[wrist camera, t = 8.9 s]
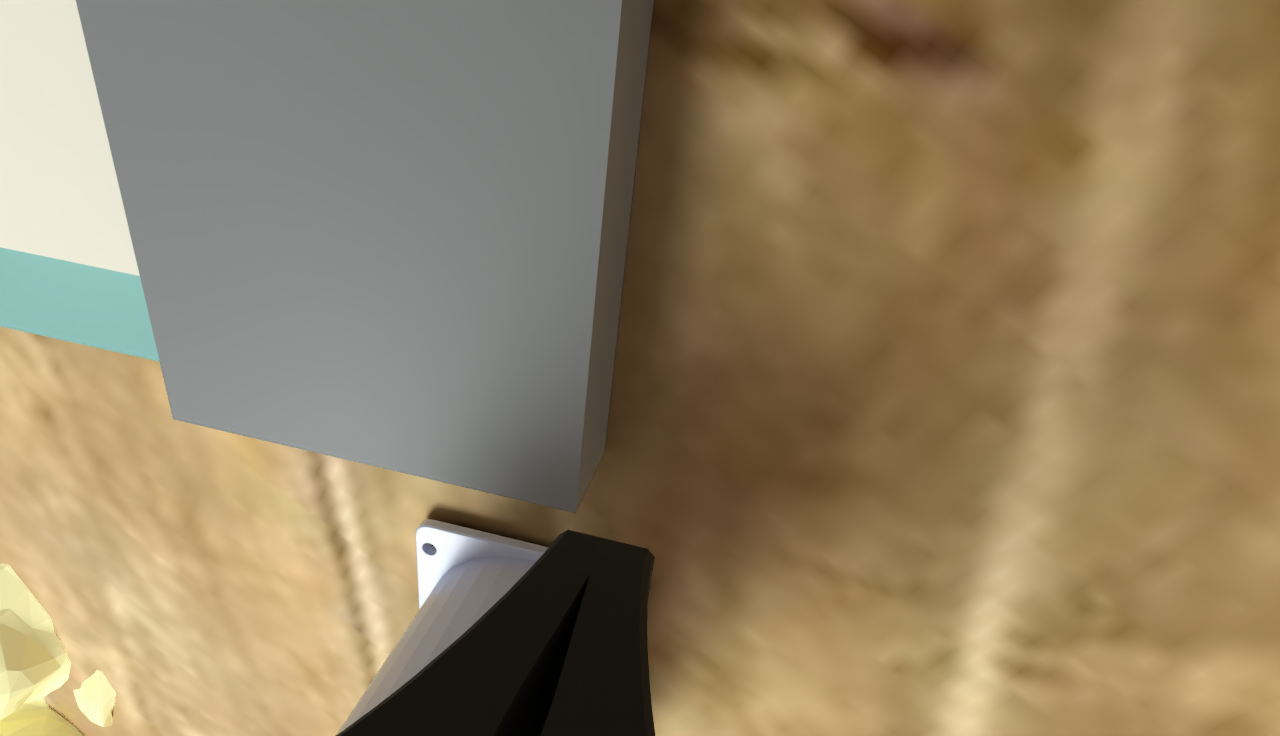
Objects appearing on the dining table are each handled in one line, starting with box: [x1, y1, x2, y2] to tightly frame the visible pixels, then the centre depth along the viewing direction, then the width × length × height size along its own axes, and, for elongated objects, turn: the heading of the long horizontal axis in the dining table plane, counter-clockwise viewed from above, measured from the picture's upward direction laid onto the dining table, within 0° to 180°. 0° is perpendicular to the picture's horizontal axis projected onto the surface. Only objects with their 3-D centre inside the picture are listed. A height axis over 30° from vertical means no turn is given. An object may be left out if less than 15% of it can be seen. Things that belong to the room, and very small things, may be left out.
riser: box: [76, 0, 654, 513], centre depth 17 cm, size 16×12×3 cm
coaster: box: [0, 0, 140, 276], centre depth 18 cm, size 8×8×2 cm
